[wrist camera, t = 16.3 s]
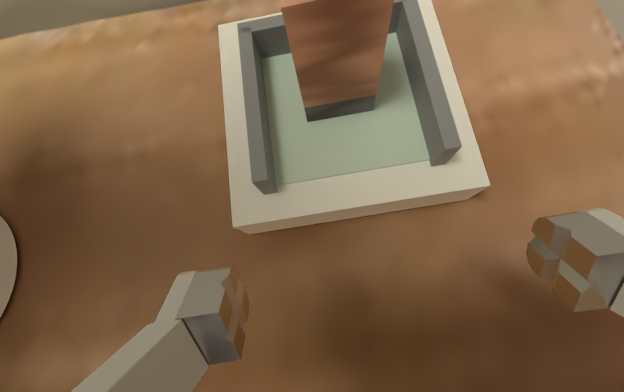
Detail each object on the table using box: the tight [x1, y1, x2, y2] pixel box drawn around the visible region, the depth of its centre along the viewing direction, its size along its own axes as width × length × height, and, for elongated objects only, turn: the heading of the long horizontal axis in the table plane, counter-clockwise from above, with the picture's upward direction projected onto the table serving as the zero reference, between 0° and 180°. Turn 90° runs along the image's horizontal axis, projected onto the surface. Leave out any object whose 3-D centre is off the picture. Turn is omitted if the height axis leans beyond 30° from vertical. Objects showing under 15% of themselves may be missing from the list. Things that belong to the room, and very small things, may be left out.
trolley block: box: [280, 0, 394, 122], centre depth 18 cm, size 5×4×10 cm
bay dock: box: [218, 0, 490, 234], centre depth 23 cm, size 18×18×7 cm
